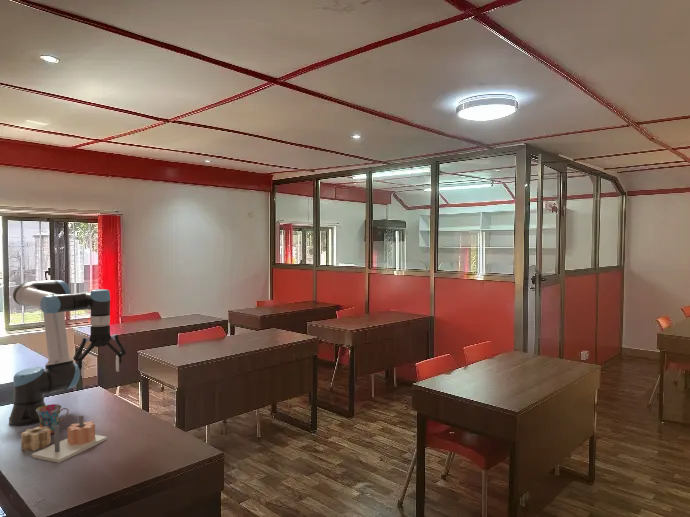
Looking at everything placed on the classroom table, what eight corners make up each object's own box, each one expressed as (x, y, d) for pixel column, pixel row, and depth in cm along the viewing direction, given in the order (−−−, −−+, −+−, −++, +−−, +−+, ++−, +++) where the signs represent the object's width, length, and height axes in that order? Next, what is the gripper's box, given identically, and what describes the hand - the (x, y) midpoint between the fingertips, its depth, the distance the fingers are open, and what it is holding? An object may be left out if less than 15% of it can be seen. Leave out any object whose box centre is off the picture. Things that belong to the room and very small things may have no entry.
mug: (36, 438, 194) (36, 413, 193) (35, 430, 201) (35, 406, 201) (69, 431, 201) (69, 407, 200) (67, 424, 208) (67, 401, 208)
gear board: (31, 457, 176) (31, 428, 176) (81, 435, 197) (80, 409, 197) (59, 462, 172) (58, 433, 172) (106, 439, 193) (106, 413, 192)
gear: (15, 448, 183) (15, 434, 183) (38, 439, 193) (38, 425, 192) (33, 452, 180) (33, 437, 180) (56, 442, 189) (56, 428, 189)
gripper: (68, 329, 190) (68, 380, 191) (133, 323, 205) (133, 370, 206) (65, 326, 196) (66, 375, 196) (129, 321, 211) (129, 367, 212)
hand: (100, 373), depth 201 cm, fingers open, 13 cm apart
